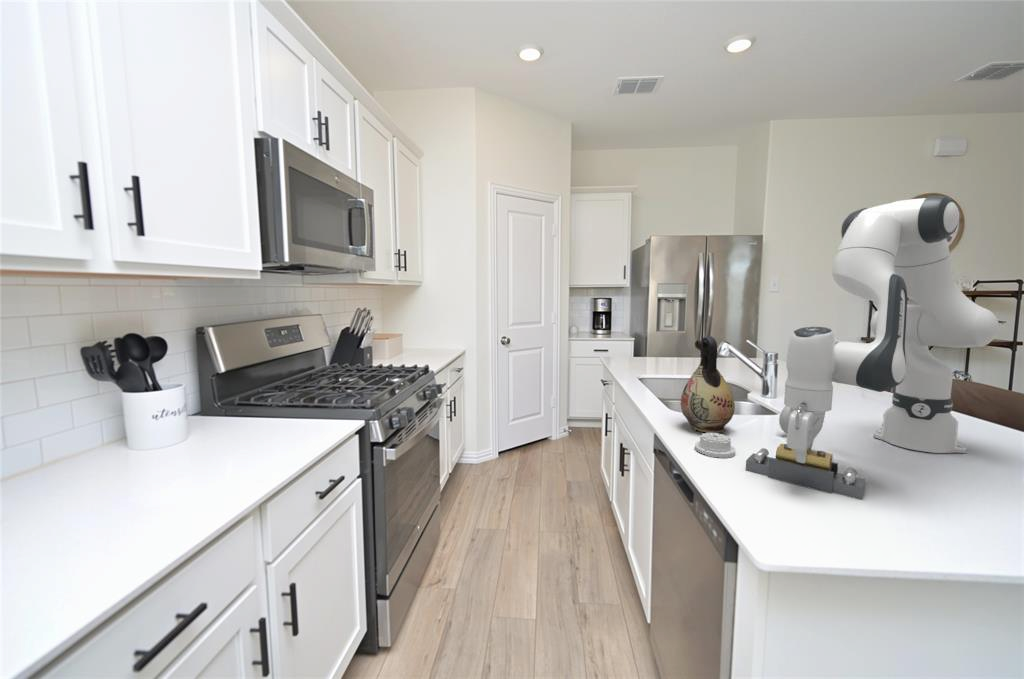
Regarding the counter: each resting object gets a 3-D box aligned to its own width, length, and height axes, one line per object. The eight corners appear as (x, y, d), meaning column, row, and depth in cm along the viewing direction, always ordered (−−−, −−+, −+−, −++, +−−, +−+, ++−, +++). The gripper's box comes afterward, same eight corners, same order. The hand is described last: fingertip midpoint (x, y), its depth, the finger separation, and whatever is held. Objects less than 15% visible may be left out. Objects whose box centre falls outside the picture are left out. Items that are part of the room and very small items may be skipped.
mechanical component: (699, 457, 112) (740, 460, 110) (700, 441, 112) (741, 443, 110) (691, 444, 122) (728, 446, 120) (691, 429, 121) (729, 431, 119)
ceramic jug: (674, 421, 143) (677, 332, 140) (723, 422, 141) (727, 332, 137) (688, 438, 126) (692, 337, 123) (743, 440, 124) (749, 338, 121)
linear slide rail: (753, 461, 108) (754, 444, 108) (865, 488, 93) (866, 469, 93) (744, 471, 103) (745, 453, 103) (861, 501, 88) (863, 480, 87)
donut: (800, 431, 131) (802, 400, 130) (811, 435, 128) (813, 402, 127) (775, 435, 128) (777, 402, 127) (785, 439, 125) (787, 405, 124)
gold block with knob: (780, 457, 103) (781, 441, 102) (831, 469, 96) (832, 451, 95) (776, 462, 100) (777, 445, 99) (828, 474, 93) (830, 456, 92)
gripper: (816, 411, 86) (811, 476, 88) (831, 393, 101) (827, 449, 103) (780, 406, 91) (776, 468, 92) (800, 389, 106) (796, 443, 107)
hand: (803, 458), depth 98 cm, fingers closed on gold block with knob, 4 cm apart
